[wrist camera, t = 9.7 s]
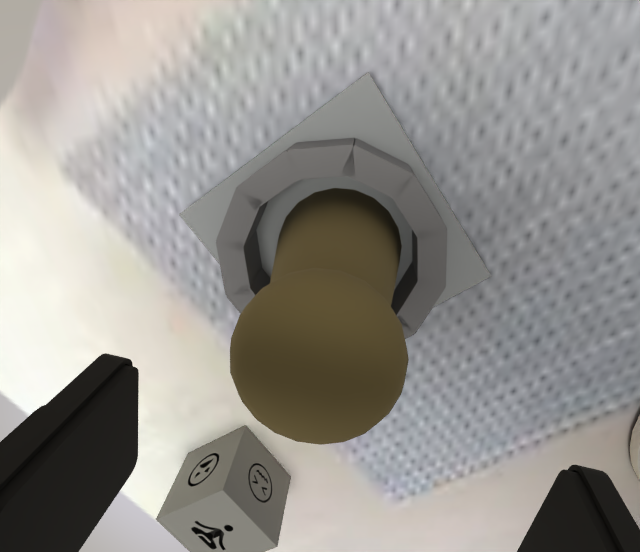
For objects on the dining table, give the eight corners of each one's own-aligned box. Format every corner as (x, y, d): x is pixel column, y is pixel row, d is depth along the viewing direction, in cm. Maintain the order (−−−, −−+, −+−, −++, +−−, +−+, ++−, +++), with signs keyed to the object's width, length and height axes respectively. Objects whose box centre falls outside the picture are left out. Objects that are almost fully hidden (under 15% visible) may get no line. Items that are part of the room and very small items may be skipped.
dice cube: (188, 452, 30) (155, 519, 25) (245, 424, 28) (222, 490, 23) (233, 499, 31) (210, 571, 26) (291, 475, 29) (277, 546, 25)
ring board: (486, 268, 22) (506, 299, 19) (310, 363, 26) (302, 403, 22) (368, 72, 19) (368, 70, 16) (186, 209, 22) (156, 229, 19)
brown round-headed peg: (318, 162, 20) (264, 240, 10) (427, 232, 21) (481, 370, 11) (257, 265, 22) (164, 413, 12) (357, 324, 23) (346, 509, 13)
